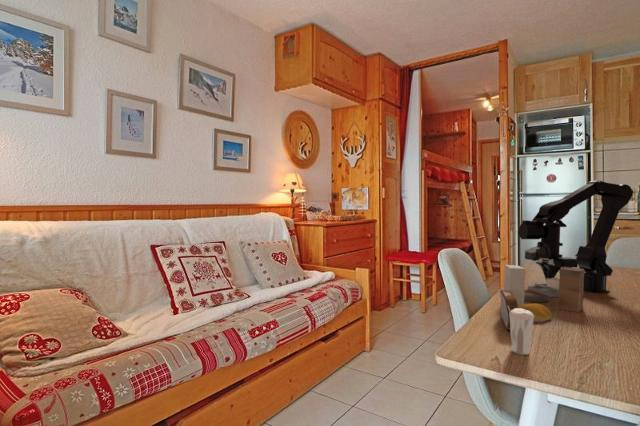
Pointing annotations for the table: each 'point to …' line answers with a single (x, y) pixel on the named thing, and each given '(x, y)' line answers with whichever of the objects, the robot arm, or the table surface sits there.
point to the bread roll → (538, 312)
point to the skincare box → (515, 281)
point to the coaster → (535, 298)
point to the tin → (506, 301)
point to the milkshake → (521, 330)
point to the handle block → (571, 289)
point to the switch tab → (553, 283)
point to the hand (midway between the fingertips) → (548, 282)
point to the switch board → (544, 290)
